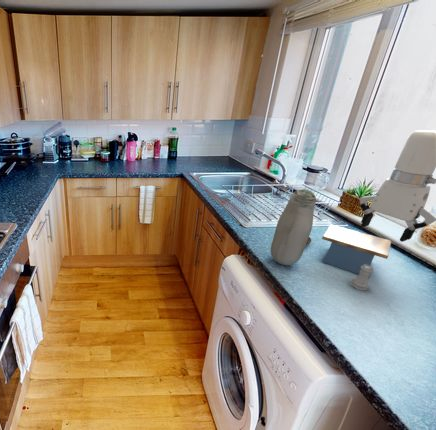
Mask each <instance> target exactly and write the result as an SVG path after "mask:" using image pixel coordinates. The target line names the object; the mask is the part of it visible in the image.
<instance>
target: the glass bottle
mask: <svg viewBox="0 0 436 430" xmlns="http://www.w3.org/2000/svg"><path fill="white" fill-rule="evenodd" d="M316 203H317V197H316V195H315V193H314V192H313V191H311V190H309V189H304V188H303V189H297V190H295V191H294V192H292V194H291V195H290V197H289V199H288V201H287V203H286V205H285V208H284V210H283V211H282V212H281V214H280V216H279V218H278V220H277V223H276V227H275V230H274V235H273V238H272V242H271V245H270V255H271V258H272V259H273V260H274V261H275V262H276V263H277V264H279V265H283V266H292V265H294V264H296V263H298V261H300V260H301V258H302V256H303V254H304V252H305V249H306V246H307V245H306V243H307V241H308V238H309V237H310V235H311V232H312V229H313V225H314V212H315V208H316Z"/></svg>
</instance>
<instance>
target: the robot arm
mask: <svg viewBox="0 0 436 430" xmlns="http://www.w3.org/2000/svg"><path fill="white" fill-rule="evenodd" d="M435 170H436V130H428V129H427V130H425V129H424V130H423V129H418V130H413V131H412V132H410V134H409V135H408V137H407V138H406V141H405V144H404V145H403V148H402V150H401V152H400V155H399V157H398V159H397V161H396V164H395V166H394V167H393V170H392V173H391V175H390V177H388V178H386V179H385V180H384V181H383V183H382V184H381V186H380V187H379V189H378V190H377V192H376V193H375V195H367V196H361V197H359V204H360V208H361V210H362V213H363V216H362V218H361V221H360V223H361V225H360V227H361V228H365V227H369V226H370V224H371V222H372V220H373V217H374V213H375V212H376V213H379V214H382V215H385V216H388V217H391V218H394V219H398V220H400V221H404V222H405V224H406V225H407V228H405V229H404V230H403V231H402V234H401V236H400V238H399V241H400V242H403V243H404V242H405V241H409V240H411V239H412V237H413V235H414V234H415V232H416V230H418V229H422V228H425V227H428V226H429V225H431V224H433V223H435V222H436V217H435V216H434V215H432V214H431V213H430V212H429V211H427V210H426V209H425V206H426V204H427V202H428V198H429V195H430V191H431V186H430V185H435V184H436V178H434V172H435ZM429 184H430V185H429ZM368 201H371V203H370V205H369V204H368ZM420 217H422V218H424V220H423V221H422V222H418V220H417V219H419V218H420Z"/></svg>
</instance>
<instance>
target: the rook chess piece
mask: <svg viewBox="0 0 436 430" xmlns="http://www.w3.org/2000/svg"><path fill="white" fill-rule="evenodd" d="M372 273H374V267H373V266H372V265H371V264H370V265H368V266H366V264H363V266H361V270H360V274H357V276H356V277H355V278H352V279H351V281H350V285H351V286H352V287H353V289H356V290H359V291H367V290H368V289H369V286H370V284H369V277H370V276H371V275H372Z"/></svg>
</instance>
